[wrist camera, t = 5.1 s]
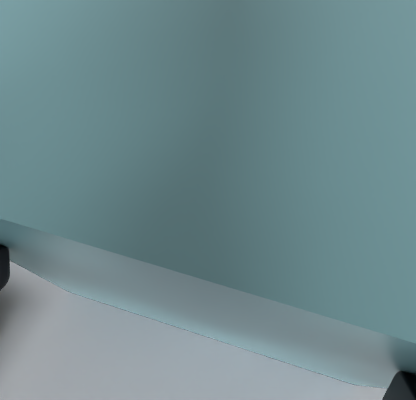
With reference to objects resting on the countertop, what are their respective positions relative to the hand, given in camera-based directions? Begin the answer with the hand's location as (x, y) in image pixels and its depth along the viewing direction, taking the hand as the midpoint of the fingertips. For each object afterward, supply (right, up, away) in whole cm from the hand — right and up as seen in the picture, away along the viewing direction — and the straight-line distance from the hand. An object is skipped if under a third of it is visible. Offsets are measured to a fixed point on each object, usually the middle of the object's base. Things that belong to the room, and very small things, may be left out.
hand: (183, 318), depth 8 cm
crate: (+2, +1, +8) cm, 8 cm away
